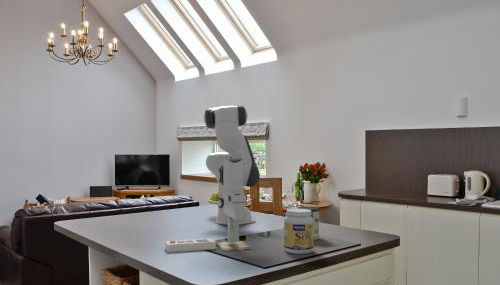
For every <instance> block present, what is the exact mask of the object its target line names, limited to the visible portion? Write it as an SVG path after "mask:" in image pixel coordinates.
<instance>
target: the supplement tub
mask: <svg viewBox="0 0 500 285" xmlns="http://www.w3.org/2000/svg"><path fill="white" fill-rule="evenodd" d="M285 213H286V214H287V216H285V217H284V219H283V228H284V229H283V249H284V251H285V252H286V253H289V254H295V255H305V254H310V253H312V252H313V250H314V240H313V222H314V221H313V218H312V217H311V215H312V214H311V210H308V209H297V208H288V209H286V212H285Z"/></svg>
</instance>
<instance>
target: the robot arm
mask: <svg viewBox="0 0 500 285" xmlns="http://www.w3.org/2000/svg"><path fill="white" fill-rule="evenodd" d="M247 121H248V111H247V110H246V108H245V106H243V105H224V106H217V107H210V108H207V109H205V110H204V114H203V122H204V124H205V126H206V127H207V128H208V129H213V130H214V129H215V130H214V131H215V136H216V142H217V146H218V148H220V149H221V150H222V151H223V152H221V151H220V152H219V151H217V152H212V153H209V154H208V155H207V157H206V159H205V166H206V168H207V169H208V171H210V172H211V173H212V174H213V175H214V177H215V179H216V181H217V187H218V197H217V207H218V208H217V215H216V220H215V223H216V224H218V225H228V217H230V218H232V219H233V229H234V230H236V229H238V222H239V226H240V225H246V224H252V223H256V219H254V218H252V212H251V211H250V209H249V208H247V207H246V202H247V196H246V195H245V188H244V187H249V188H254V187H255V186H256V185H258V183H259V182H260V179H261V178H260V177H261V175H260V170H259V167H258V165H257V163H256V160H255V158H254V154H253V151H252V148H251V145H250V143H249V140H248V137H247V136H246V135H244V134H243V133H242V132H241V130H240V128H239V127H243V126H245V124H246V123H247Z"/></svg>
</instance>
